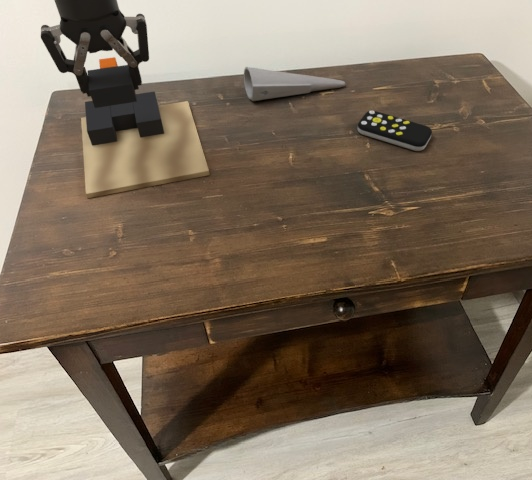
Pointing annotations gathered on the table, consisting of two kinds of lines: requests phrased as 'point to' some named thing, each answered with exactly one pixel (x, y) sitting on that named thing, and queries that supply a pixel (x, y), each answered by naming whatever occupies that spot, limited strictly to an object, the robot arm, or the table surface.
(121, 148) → the board
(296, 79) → the long tapered cone
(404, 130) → the remote control
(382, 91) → the table surface
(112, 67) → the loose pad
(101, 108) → the dark grey u-shaped block
